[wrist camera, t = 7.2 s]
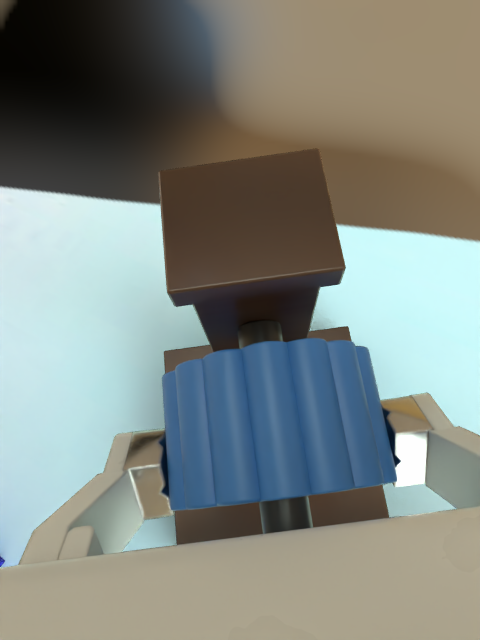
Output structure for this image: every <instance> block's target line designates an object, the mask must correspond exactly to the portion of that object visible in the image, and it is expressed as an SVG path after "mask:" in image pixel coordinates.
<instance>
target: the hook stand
mask: <svg viewBox="0 0 480 640" xmlns="http://www.w3.org/2000/svg"><path fill="white" fill-rule="evenodd" d="M158 177H159V191H160V204H161V218H162V232H163V245H164V259H165V273H166V286H167V293H168V295H169V297H170V299H171V300H172V302H173V304H174V306H176V307H178V306H185V305H192V304H193V307H194V309H195V311H196V313H197V316H198V318H199V320H200V323H201V325H202V327H203V330H204V332H205V334H206V336H207V339H208V341H209V343H210V345H205V346H198V347H190V348H183V349H176V350H168V351H164V362H165V374H166V373H168V372H171V371H174V370H175V368H176V366H177V365H179V364H181V363H183V362H186V361H189V360H194V359H203V358H204V357H205V356H206V355H208V354H210V353H213V352H216V351H220V350H225V349H241V348H243V347H245V346H248V345H251V344H254V343H259V342H265V341H283V342H289V341H293V340H297V339H304V338H320V339H324V340H325V341H326V342H327V341H334V340H347V341H351V337H350V332H349V328H348V326H346V327H338V328H331V329H323V330H316V331H309V329H310V325H311V321H312V318H313V314H314V310H315V306H316V302H317V298H318V294H319V290H320V287H324V286H331V285H338V284H340V283H341V280H342V277H343V274H344V271H345V268H346V267H345V262H344V258H343V254H342V249H341V245H340V240H339V236H338V231H337V227H336V222H335V218H334V213H333V209H332V204H331V200H330V195H329V191H328V186H327V182H326V177H325V173H324V169H323V164H322V159H321V155H320V151H319V149H309V150H302V151H295V152H288V153H281V154H274V155H267V156H260V157H254V158H246V159H239V160H232V161H226V162H218V163H211V164H204V165H197V166H190V167H183V168H175V169H169V170H161V171H159V174H158ZM384 518H389V514H388V509H387V505H386V500H385V495H384V491H383V486H382V485H379V486H372V487H365V488H358V489H352V490H347V491H340V492H333V493H325V494H317V495H309V496H303V497H297V498H289V499H281V500H273V501H262V502H255V503H248V504H240V505H231V506H218V507H211V508H203V509H193V510H189V509H187V510H177V511H175V526H176V541H177V545H181V544H189V543H197V542H205V541H212V540H220V539H228V538H236V537H244V536H251V535H259V534H267V533H275V532H283V531H291V530H298V529H306V528H314V527H321V526H329V525H337V524H345V523H353V522H360V521H368V520H376V519H384Z"/></svg>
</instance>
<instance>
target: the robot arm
mask: <svg viewBox="0 0 480 640" xmlns="http://www.w3.org/2000/svg"><path fill="white" fill-rule="evenodd" d="M380 403H381V407H382V411H383V416H384V420H385V425H386V429H387V433H388V438H389V442H390V447H391V451H392V455H393V460H394V464H395V469H396V473H397V478H398V481H396V482H393V485H394V487H401V486H411V485H421V484H426V486H427V487H429V488H430V489H431V490H433V491H434V492H435V493H437V494H438V495H439V496H441V497H442V498H443V499H445V500H446V501H447V502H449V503H450V504H451V505H453V506H454V507H455V508H457V509H454V510H446V511H438V512H431V513H423V514H415V515H407V516H399V517H392V518H384V519H376V520H368V521H360V522H353V523H345V524H337V525H329V526H321V527H314V528H306V529H298V530H291V531H283V532H275V533H267V534H259V535H251V536H244V537H236V538H228V539H220V540H212V541H205V542H197V543H189V544H181V545H173V546H165V547H158V548H150V549H142V550H134V551H126V552H122V551H123V550H124V548H125V547H126V546H127V544H128V543H129V541H130V540H131V539H132V537H133V536H134V535H135V533H136V532H137V531H138V529H139V528H140V527H141V525H142V524H143V520H150V519H156V518H162V517H169V516H174V511H173V510H171V508H170V495H169V480H168V464H167V449H166V434H165V428H163V429H154V430H145V431H136V432H128V433H120V434H117V435H116V436H115V437H114V440H113V443H112V446H111V450H110V453H109V456H108V459H107V462H106V465H105V468H104V472H103V473H101V474H97V475H96V476H95V477H94V478H93V479H92V480H91V481H89V482H88V483H87V484H86V485H85V486H84V487H83V488H82V489H80V490H79V491H78V492H77V493H76V494H75V495H74V496H72V497H71V498H70V499H69V500H68V501H67V502H66V503H65V504H63V505H62V506H61V507H60V508H59V509H58V510H57V511H55V512H54V513H53V514H52V515H51V516H50V517H49V518H48V519H46V520H45V521H44V522H43V523H42V524H41V525H40V526H38V527H37V528H36V529H35V530H34V531H33V533H32V535H31V537H30V539H29V542H28V544H27V546H26V548H25V551H24V553H23V555H22V557H21V560H20V562H19V564H18V565H17V566H9V567H1V568H0V640H480V436H479V435H477V434H475V433H473V432H470V431H468V430H466V429H464V428H462V427H460V426H459V427H454V426H453V425H452V423H451V422H450V421H449V419H448V418H447V417H446V415H445V414H444V413H443V411H442V410H441V409H440V407H439V406H438V405H437V403H436V402H435V401H434V399H433V398H432V397H431V395H430V394H428V393H421V394H415V395H409V396H406V397H399V398H392V399H384V400H380Z"/></svg>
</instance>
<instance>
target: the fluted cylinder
mask: <svg viewBox="0 0 480 640" xmlns="http://www.w3.org/2000/svg"><path fill="white" fill-rule="evenodd" d="M162 387H163V403H164V418H165V434H166V449H167V464H168V480H169V495H170V508H171V510H173V511H177V510H187V509H189V510H193V509H203V508H211V507H218V506H231V505H240V504H248V503H255V502H262V501H273V500H281V499H289V498H297V497H303V496H309V495H317V494H325V493H333V492H340V491H347V490H352V489H358V488H365V487H372V486H379V485H383V484H387V483H393V482H396V481H398V478H397V473H396V469H395V464H394V460H393V455H392V451H391V447H390V442H389V438H388V433H387V429H386V425H385V420H384V416H383V411H382V407H381V403H380V398H379V394H378V389H377V385H376V380H375V376H374V372H373V367H372V363H371V358H370V354H369V350H368V349H367V348H366V347H362V346H355V344H354V343H353V342H352V341H347V340H334V341H327V342H326V341H325V340H324V339H320V338H304V339H297V340H293V341H289V342H283V341H265V342H259V343H254V344H251V345H248V346H245V347H243V348H241V349H225V350H220V351H216V352H213V353H210V354H208V355H206V356H205V357H204V358H203V359H194V360H189V361H186V362H183V363H181V364H179V365H177V366H176V368H175V370H174V371H171V372H168V373H166V374H164V375H163V377H162Z"/></svg>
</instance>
